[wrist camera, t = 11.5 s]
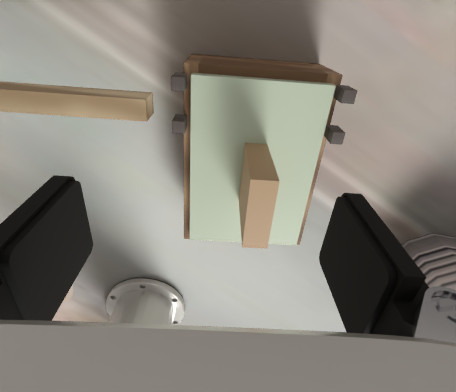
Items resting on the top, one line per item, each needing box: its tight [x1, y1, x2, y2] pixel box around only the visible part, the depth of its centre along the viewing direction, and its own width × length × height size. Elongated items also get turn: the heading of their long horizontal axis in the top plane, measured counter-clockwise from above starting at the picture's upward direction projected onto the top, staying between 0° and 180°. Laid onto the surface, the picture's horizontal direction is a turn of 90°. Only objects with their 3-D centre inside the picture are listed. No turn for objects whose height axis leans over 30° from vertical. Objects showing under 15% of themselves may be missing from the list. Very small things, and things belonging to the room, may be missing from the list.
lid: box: [190, 73, 336, 248], centre depth 25 cm, size 17×12×8 cm
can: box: [402, 233, 456, 290], centre depth 39 cm, size 11×11×12 cm
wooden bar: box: [0, 82, 154, 121], centre depth 23 cm, size 2×14×2 cm, turn 86°
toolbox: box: [171, 54, 357, 245], centre depth 31 cm, size 18×14×9 cm
